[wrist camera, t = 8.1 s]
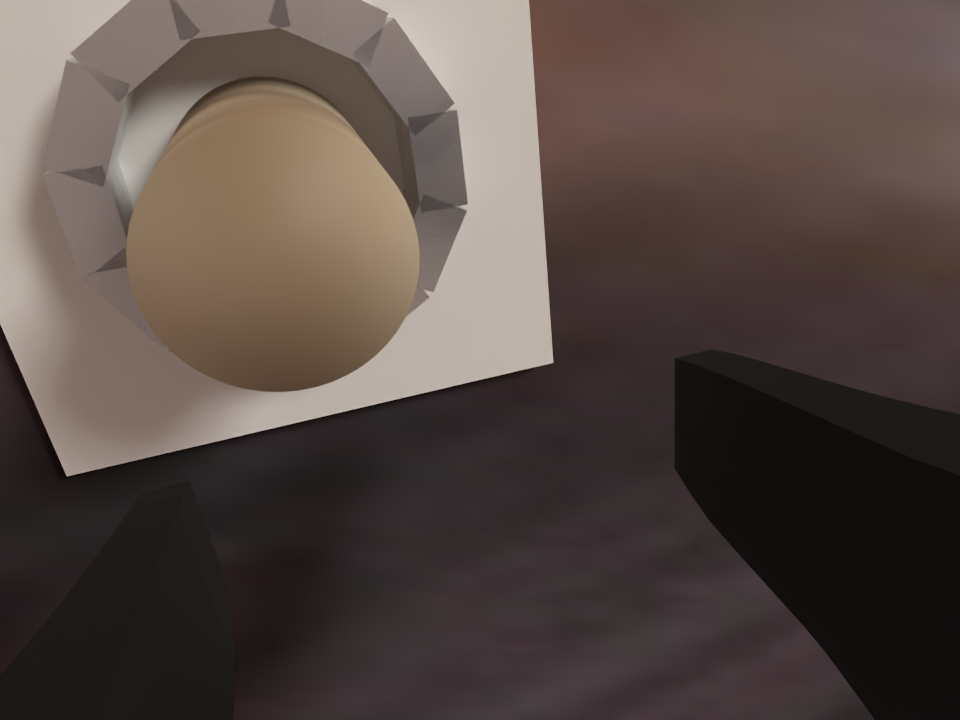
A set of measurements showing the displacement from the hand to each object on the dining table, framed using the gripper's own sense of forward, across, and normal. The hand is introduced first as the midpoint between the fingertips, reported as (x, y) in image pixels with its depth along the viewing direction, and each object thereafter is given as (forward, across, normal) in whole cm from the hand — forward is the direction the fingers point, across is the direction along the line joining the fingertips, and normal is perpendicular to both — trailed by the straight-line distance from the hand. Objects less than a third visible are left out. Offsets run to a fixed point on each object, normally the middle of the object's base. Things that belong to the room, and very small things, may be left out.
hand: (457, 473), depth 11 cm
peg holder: (+8, +2, -3) cm, 9 cm away
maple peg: (+8, +2, -3) cm, 8 cm away
